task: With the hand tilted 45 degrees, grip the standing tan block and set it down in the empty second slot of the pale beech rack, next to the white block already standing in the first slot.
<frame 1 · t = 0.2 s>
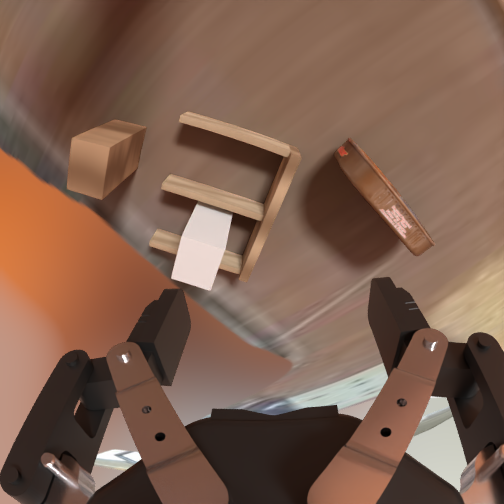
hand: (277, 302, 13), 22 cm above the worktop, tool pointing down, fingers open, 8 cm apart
tan block: (126, 143, 31), on the worktop
white block: (211, 220, 36), resting in rack
rack: (220, 192, 34), on the worktop
tin: (375, 184, 33), on the worktop
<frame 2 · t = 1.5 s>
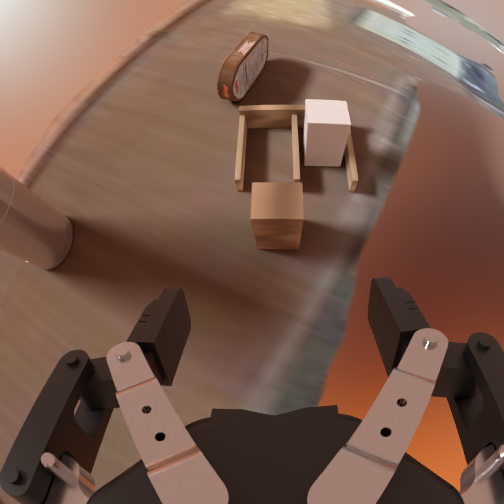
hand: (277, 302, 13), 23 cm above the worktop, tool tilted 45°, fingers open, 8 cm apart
tan block: (278, 233, 38), on the worktop
white block: (321, 154, 41), resting in rack
rack: (295, 154, 42), on the worktop
tin: (248, 83, 48), on the worktop
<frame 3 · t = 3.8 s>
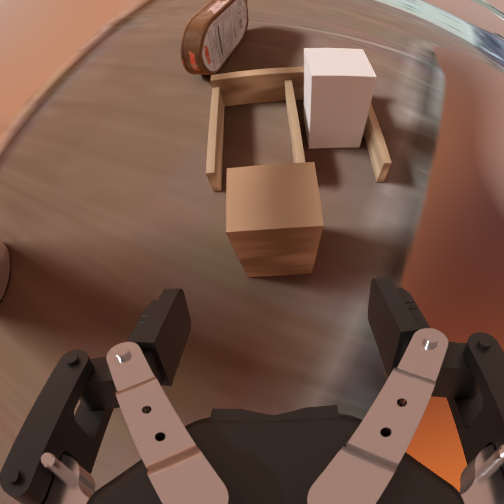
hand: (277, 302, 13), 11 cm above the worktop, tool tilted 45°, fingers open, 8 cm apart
tan block: (278, 251, 25), on the worktop
white block: (330, 132, 28), resting in rack
rack: (293, 133, 29), on the worktop
tin: (225, 56, 35), on the worktop
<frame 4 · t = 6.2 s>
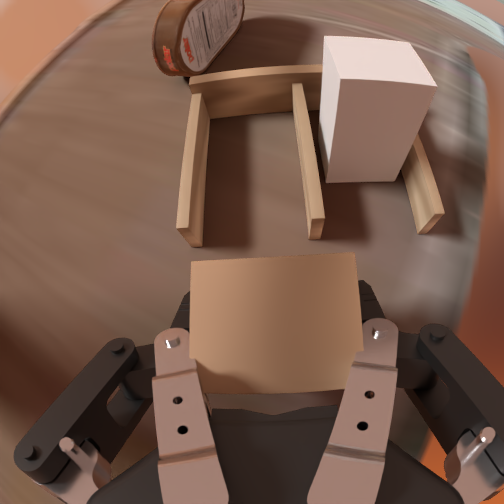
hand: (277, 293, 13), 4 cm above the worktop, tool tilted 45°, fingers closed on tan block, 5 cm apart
tan block: (281, 341, 17), on the worktop, touching gripper
white block: (355, 158, 20), resting in rack
rack: (304, 160, 21), on the worktop
tin: (214, 51, 27), on the worktop
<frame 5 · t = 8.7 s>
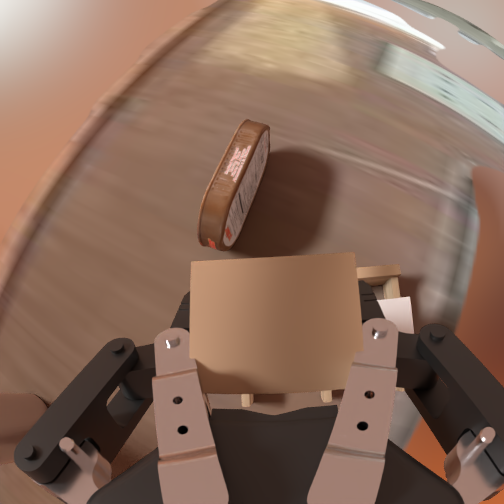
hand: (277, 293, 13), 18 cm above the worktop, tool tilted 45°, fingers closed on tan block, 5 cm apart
tan block: (281, 341, 17), point 13 cm above the worktop, touching gripper
white block: (357, 335, 29), resting in rack
rack: (321, 339, 29), on the worktop
tin: (244, 202, 36), on the worktop
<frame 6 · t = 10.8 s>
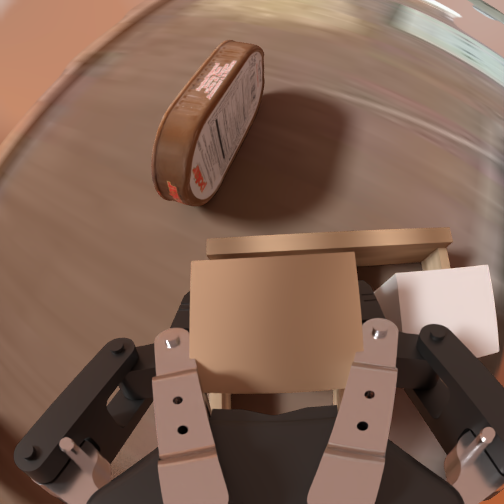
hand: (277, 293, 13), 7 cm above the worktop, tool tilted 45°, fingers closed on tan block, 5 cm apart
tan block: (281, 340, 17), point 3 cm above the worktop, touching gripper
white block: (388, 335, 19), resting in rack
rack: (336, 340, 19), on the worktop
tin: (228, 149, 26), on the worktop
when the fingers open (7 cm above the worktop, at t = 11.5 s): tan block drops 3 cm, resting in rack.
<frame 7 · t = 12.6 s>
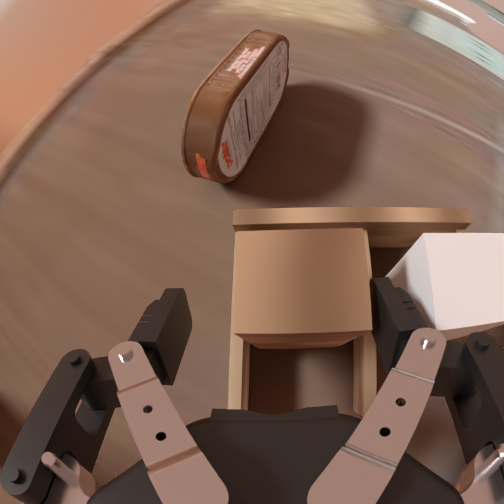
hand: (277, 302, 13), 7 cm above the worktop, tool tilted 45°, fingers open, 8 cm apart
tan block: (298, 318, 20), resting in rack
white block: (409, 316, 19), resting in rack
rack: (358, 319, 19), on the worktop
tin: (253, 135, 26), on the worktop
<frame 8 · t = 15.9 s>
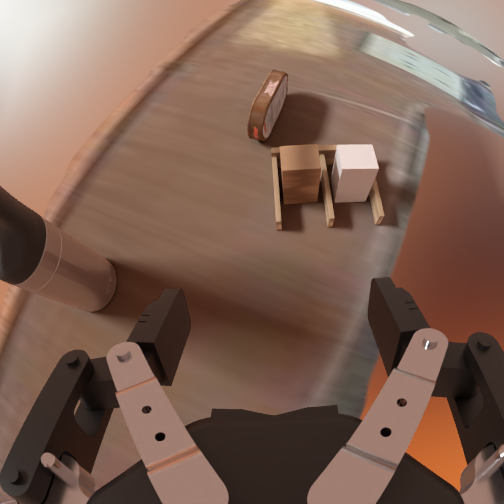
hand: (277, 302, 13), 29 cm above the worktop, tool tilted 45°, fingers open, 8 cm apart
tan block: (299, 191, 47), resting in rack
white block: (347, 190, 46), resting in rack
rack: (324, 191, 46), on the worktop
tin: (271, 120, 53), on the worktop
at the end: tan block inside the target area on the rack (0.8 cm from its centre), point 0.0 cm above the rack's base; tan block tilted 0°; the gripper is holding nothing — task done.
